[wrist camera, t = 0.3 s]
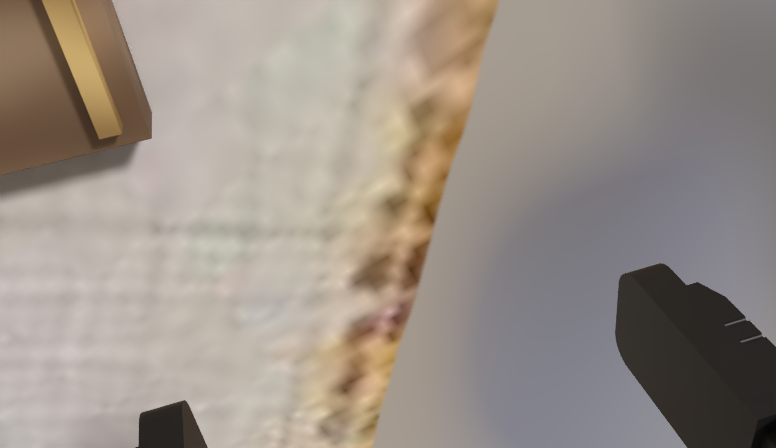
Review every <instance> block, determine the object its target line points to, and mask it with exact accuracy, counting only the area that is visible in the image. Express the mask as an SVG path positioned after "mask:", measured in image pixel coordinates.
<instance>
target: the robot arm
mask: <svg viewBox="0 0 776 448" xmlns="http://www.w3.org/2000/svg"><path fill="white" fill-rule="evenodd" d="M615 334H616V342H617V346H618V349H619V352H620V354H621V356H622V359H623V360H624V362H625V364H626V366H627V367H628V368H629V370H630V371H631V372H632V374H633V375H634V376H635V378H636V379H637V380H638V382H639V383H640V384H641V386H642V387H643V389H644V390H645V391H646V393H647V394H648V395H649V396H650V398H651V399H652V401H653V402H654V403H655V405H656V406H657V407H658V409H659V410H660V411H661V413H662V414H663V415H664V417H665V418H666V419H667V421H668V422H669V423H670V425H671V426H672V427H673V429H674V430H675V431H676V433H677V434H678V436H679V437H680V438H681V440H682V441H683V442H684V444H685V445H686V446H687V448H776V347H775V346H774V345H773V344H772V343H771V342H770V341H769V340H768V339H767V338H766V337H765V338H764V337H763V336H762V333H761V332H760V331H759V330H758V329H757V328H756V327H755V326H754V325H753V324H752V323H751V322H750V321H746V318H745V316H744V315H743V314H742V313H741V312H740V311H739V310H738V309H737V308H736V307H735V306H734V305H733V304H732V303H731V302H730V301H729V300H728V299H727V298H726V297H725V296H723V295H721V294H719V293H717V292H715V291H713V290H711V289H709V288H708V287H705V286H704V285H702V284H700V283H698V282H697V283H693V284H690V285H685V283H684V282H683V281H682V280H681V279H680V278H679V277H678V276H677V275H676V274H675V273H674V272H673V271H672V270H671V269H670V268H669V267H668V266H666V265H665V264H656V265H653V266H649V267H646V268H642V269H639V270H636V271H633V272H629V273H625V274H623V275H621V277H620V280H619V289H618V303H617V316H616V330H615ZM136 448H208V447H207V445H206V443H205V441H204V438H203V436H202V434H201V432H200V429H199V427H198V425H197V423H196V420H195V418H194V416H193V414H192V411H191V409H190V407H189V405H188V403H187V402H186V401H185V400H184V401H180V402H177V403H173V404H170V405H167V406H163V407H160V408H156V409H153V410H149V411H146V412H142V413H141V414H140V418H139V447H136Z"/></svg>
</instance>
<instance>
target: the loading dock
mask: <svg viewBox="0 0 776 448" xmlns="http://www.w3.org/2000/svg"><path fill="white" fill-rule="evenodd" d="M151 138H152V112H151V109H150V106H149V103H148V101H147V98H146V95H145V92H144V89H143V87H142V84H141V81H140V78H139V75H138V73H137V70H136V67H135V64H134V61H133V59H132V56H131V53H130V50H129V47H128V45H127V42H126V39H125V36H124V34H123V31H122V28H121V25H120V22H119V20H118V17H117V14H116V11H115V8H114V6H113V3H112V0H0V175H3V174H7V173H11V172H15V171H19V170H23V169H27V168H32V167H36V166H40V165H44V164H48V163H52V162H56V161H61V160H65V159H69V158H73V157H77V156H81V155H85V154H89V153H94V152H98V151H102V150H106V149H110V148H114V147H118V146H123V145H127V144H131V143H135V142H139V141H143V140H147V139H151Z"/></svg>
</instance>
